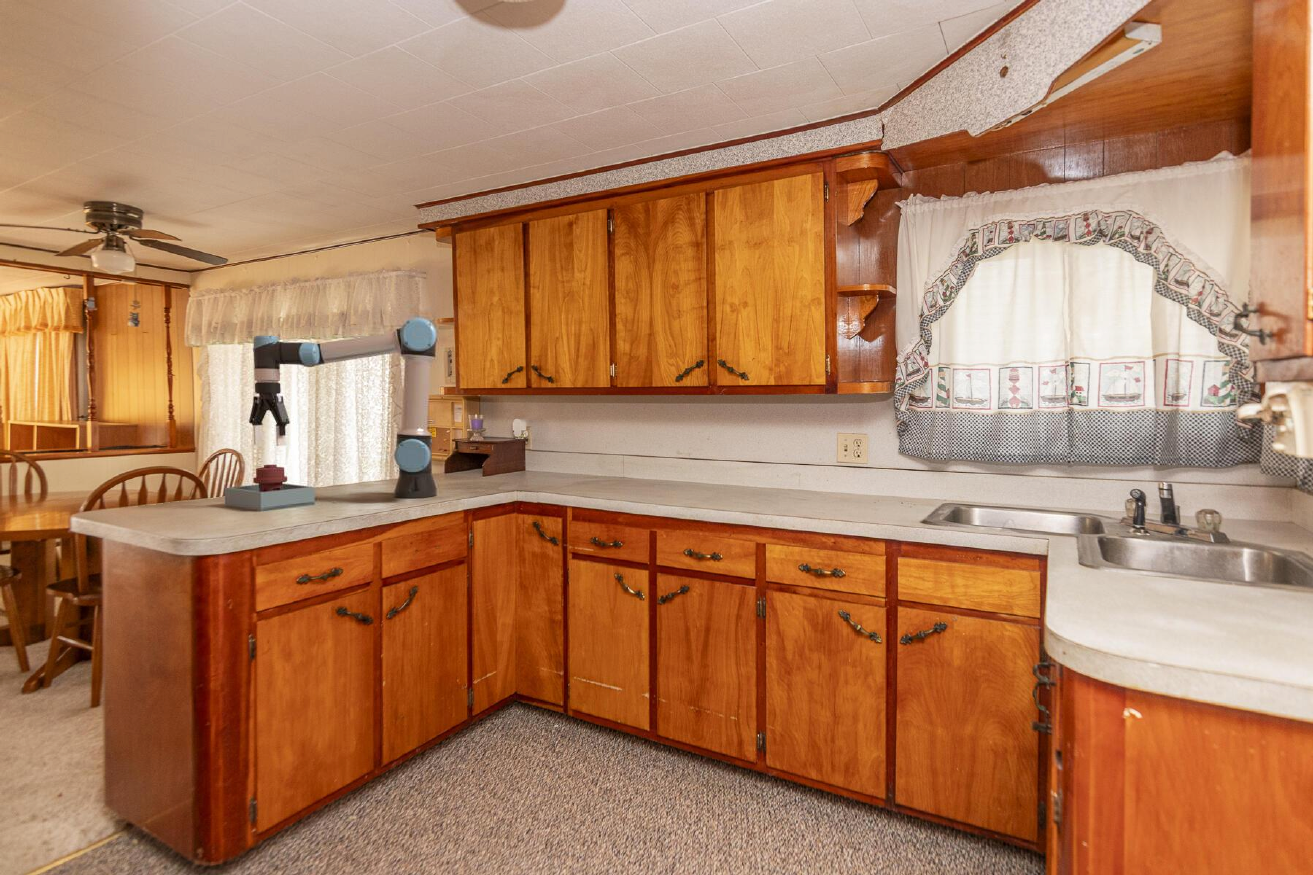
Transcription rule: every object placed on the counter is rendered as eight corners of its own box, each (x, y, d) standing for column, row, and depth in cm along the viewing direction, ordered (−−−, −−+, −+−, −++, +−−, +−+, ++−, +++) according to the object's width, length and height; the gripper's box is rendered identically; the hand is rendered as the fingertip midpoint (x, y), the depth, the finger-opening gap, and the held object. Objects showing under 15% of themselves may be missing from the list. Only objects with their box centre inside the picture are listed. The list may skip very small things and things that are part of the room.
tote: (314, 504, 234) (314, 487, 234) (261, 511, 218) (260, 492, 218) (278, 499, 245) (277, 482, 245) (225, 505, 230) (224, 487, 230)
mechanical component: (265, 504, 225) (247, 501, 230) (294, 500, 234) (276, 498, 238) (264, 466, 224) (246, 465, 229) (293, 464, 233) (275, 463, 238)
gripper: (299, 381, 227) (302, 445, 228) (258, 382, 240) (260, 443, 241) (277, 381, 220) (279, 446, 221) (236, 382, 233) (238, 444, 234)
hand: (269, 445), depth 231 cm, fingers open, 13 cm apart
